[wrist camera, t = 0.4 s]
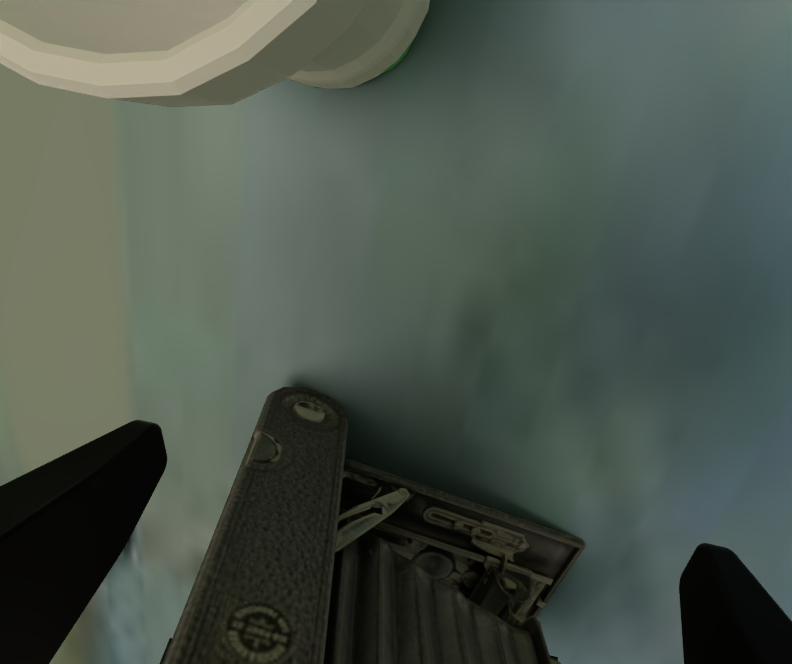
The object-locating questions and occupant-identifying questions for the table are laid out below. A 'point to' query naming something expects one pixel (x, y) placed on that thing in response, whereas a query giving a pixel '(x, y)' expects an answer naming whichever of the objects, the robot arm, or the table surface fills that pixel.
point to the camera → (361, 561)
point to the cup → (203, 45)
